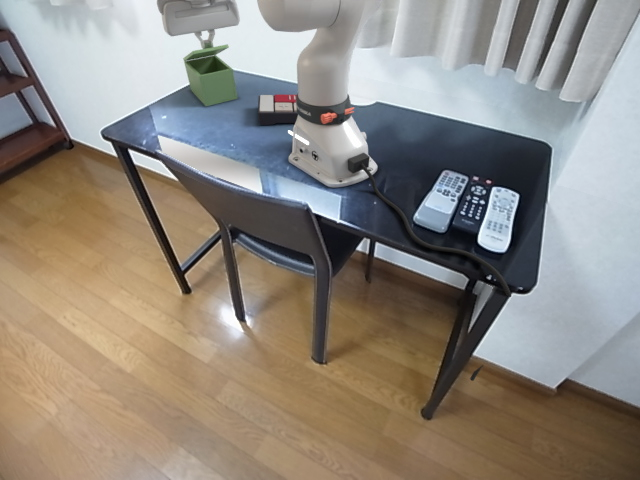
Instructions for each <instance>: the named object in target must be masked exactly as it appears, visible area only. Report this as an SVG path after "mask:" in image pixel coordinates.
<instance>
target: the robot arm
mask: <svg viewBox="0 0 640 480" xmlns="http://www.w3.org/2000/svg"><path fill="white" fill-rule="evenodd" d="M256 3H257V6H258V7H257V8H258V10H259V13H260V15H261V17H262V19H263V20H264V22H265V23H266V24H267V26H268V27H269V28H271V29H272V30H273V31H275V32H283V33H303V32H307V31H312V30H313V31H314V30H316V31H315V34H314V35H313V37H312V39H311V41H310V42H309V43H308V44H307V45H306V46H305V47H304V48H303V49H302V51H300V53H299V55H298V57H297V61H296V75H297V76H296V79H297V94H296V95H297V96H296V107H297V113H298V117H297V120H296V123H294V125H293V127H292V130H291V129H290V130H287V133H288V134H289V135H291V136H292V148H291V149H292V150H291V151H292V152H291V153H290V154H289V155H288V162H289V163H290V164H292V166H295V167H296V168H298V169H299V170H300V171H302V172H304V173H305V174H307V175H309V176H310V177H312V178H313V179H315V180H317V181H318V182H320V184H323V185H325V186H326V187H328V188H343V187H347V186H351V185H355V184H357V183H360V182H363V181H366V180H367V179H369V180H370V182H371V186H372V189H373V191H374V193H375V194H376V196H377V197H378V198H380V199H381V200H382V202H385V204H387V205H388V206H389V207H391V208H392V209H394V210H395V211H396V212H397V213H398V214H399V215H400V217H401V220H402V221H403V223H404V226H405V229H406V230H407V233H408V234H409V236H410V237H411V238H412V240H414V241H415V242H416V243H418V244H419V245H421V246H422V247H424V248H427V249H430V250H434V251H438V252H439V251H440V252H446V253H453V254H454V253H455V254H459V255H463V256H465V257H468V258H470V259H471V260H474V261H475V262H478V263H479V264H481V265H482V266H484V267H485V268H487V270H489V271H490V272H491V273H492V274H493V275H494V277H495V278H496V279H497V280H498V282H499V284H500V285H501V286H502V288H503V292H504V294H505V296H506V297H508V298H511V297H512V293H511V290H510V288H509V286H508V283H507V282H506V280H505V278H504V277H503V275H502V274H501V272H499V271H498V270H497V269H496V268H495V267H494V266H492V265H491V264H490V263H489V262H487V261H486V260H484V259H482V258H481V257H479V256H477V255H476V254H474V253H471V252H469V251H466V250H465V249H464V250H463V249H459V248H454V247H448V246H446V247H445V246H439V245H434V244H432V243H431V244H430V243H428V242H426V241H424V240H422V239H421V238H419V237H418V236H417V235H416V233H414V231H413V230H412V228H411V227H412V226H411V225H410V222H409V220H408V218H407V216H406V214H405V212H403V210H402V209H401V208H400V207H398V206H397V205H396V204H395V203H394V202H391V201H390V200H389V199H388V198H386V197H385V196H383V194H382V193H381V192H380V191H379V189H378V188H377V184H376V180H375V178H374V174H376V172H377V171H378V164H377V163H376V161H375V160H374V159H373V158H372V157H371V156H370V155H369V146H368V143H367V133H366V132H365V131H361V130H360V128H359V126H358V124H357V123H356V120H355V119H354V117H353V113H355V111H354V109H355V107H354V106H353V107H352V103H351V100H350V99H351V98H350V94H349V80H350V70H351V63H352V57H353V53H354V51H355V48H356V45H357V43H358V40H359V38H360V36H361V34H362V31H363V29H364V28H365V26H366V25H367V23H368V21H369V20H370V19H371V18H372V16H373V15H374V14H375V13H376V12H377V11H378V10H379V8H380V7H381V6H382V4H383V0H256ZM156 5H157V9H158V12H159V13H160V14H161V21H162V26H163V30H164V32H165V33H166V34H167V36H170V37H177V36H183V35H189V34H194V36H195V37H196V38H197V39H198V41H199V42H200V46H201V49H206V48H211V47H214V39H215V35H216V30H218V29H225V28H230V27H236V26H239V24H240V22H241V16H240V11H239V8H238V3H237V0H156ZM206 31H207V33H208V37H207V39H203V37H202V36H203V33H202V32H206ZM483 367H484V364H482V365H481V366H480V367H478V368H477V369H476V370H474V371H473V372H472V374H471V376H470V378H469V380H470V381H472V382H474V381H475V379H476V377H477V376H478V375H479V373H480V371H481V370H482V368H483Z"/></svg>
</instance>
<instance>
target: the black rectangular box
mask: <svg viewBox="0 0 640 480" xmlns="http://www.w3.org/2000/svg"><path fill="white" fill-rule="evenodd" d="M296 96H297V94H274V95H273V94H260V95H258V101H257V102H258V105H257V119H258V125H259V126H273V125H275V124H295V123H296V120H297V117H298V113H297V107H296Z"/></svg>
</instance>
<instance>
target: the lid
mask: <svg viewBox="0 0 640 480" xmlns="http://www.w3.org/2000/svg"><path fill="white" fill-rule="evenodd" d="M227 49H229V44H222V45H217V46H213V47H211V48H206V49H203V48H201V49H196V50H192V51H191V52H189V53H188V54H187V55H185V56H184V57H183V62H184V61H189V60H194V59H199V58H204V57H209V56H214V55H216V56H217V55H218V54H220V53H222V52H223V51H225V50H227Z"/></svg>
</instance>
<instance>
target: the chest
mask: <svg viewBox="0 0 640 480" xmlns="http://www.w3.org/2000/svg"><path fill="white" fill-rule="evenodd" d="M183 63H184V67H185V71H186V75H187V79H188V84H189V88H190V91H191V92H192V93H193V94H194V96H196V98H197V99H198V100H199V101H200V102H201V103H202V104H203V105H204V106H205V107H210V106H214V105H218V104H221V103H226V102H230V101H234V100H238V93H237V86H236V80H235V75H234V68H232V67H231V66H230V65H229V64H227V63H226V62H224V61H223V60H222V59H221V58H220V57H219V56H218V55H217V54H216V55H213V56H208V57H203V58H198V59H193V60H188V61H184V60H183Z"/></svg>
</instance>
